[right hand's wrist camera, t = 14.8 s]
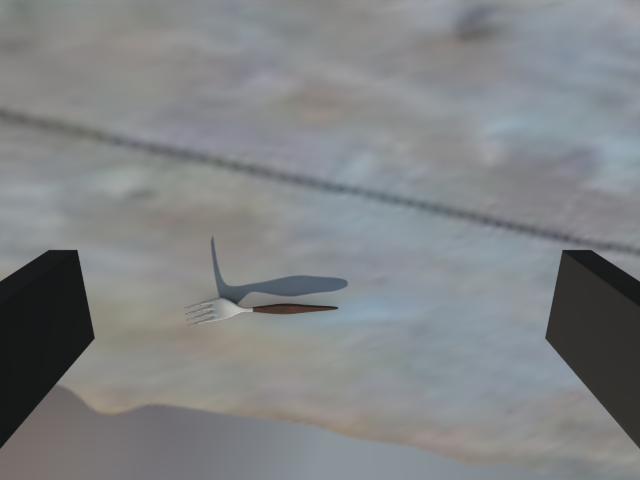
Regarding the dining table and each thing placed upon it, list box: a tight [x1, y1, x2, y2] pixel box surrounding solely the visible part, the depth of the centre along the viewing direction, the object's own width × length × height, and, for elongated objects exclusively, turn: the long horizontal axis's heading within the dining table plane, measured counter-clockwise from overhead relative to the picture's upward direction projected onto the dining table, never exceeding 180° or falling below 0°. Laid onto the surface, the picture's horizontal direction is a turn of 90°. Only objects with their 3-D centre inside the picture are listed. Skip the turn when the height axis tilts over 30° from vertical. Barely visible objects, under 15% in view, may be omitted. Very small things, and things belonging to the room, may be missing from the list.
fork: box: [184, 298, 338, 327], centre depth 48 cm, size 3×16×2 cm, turn 91°
